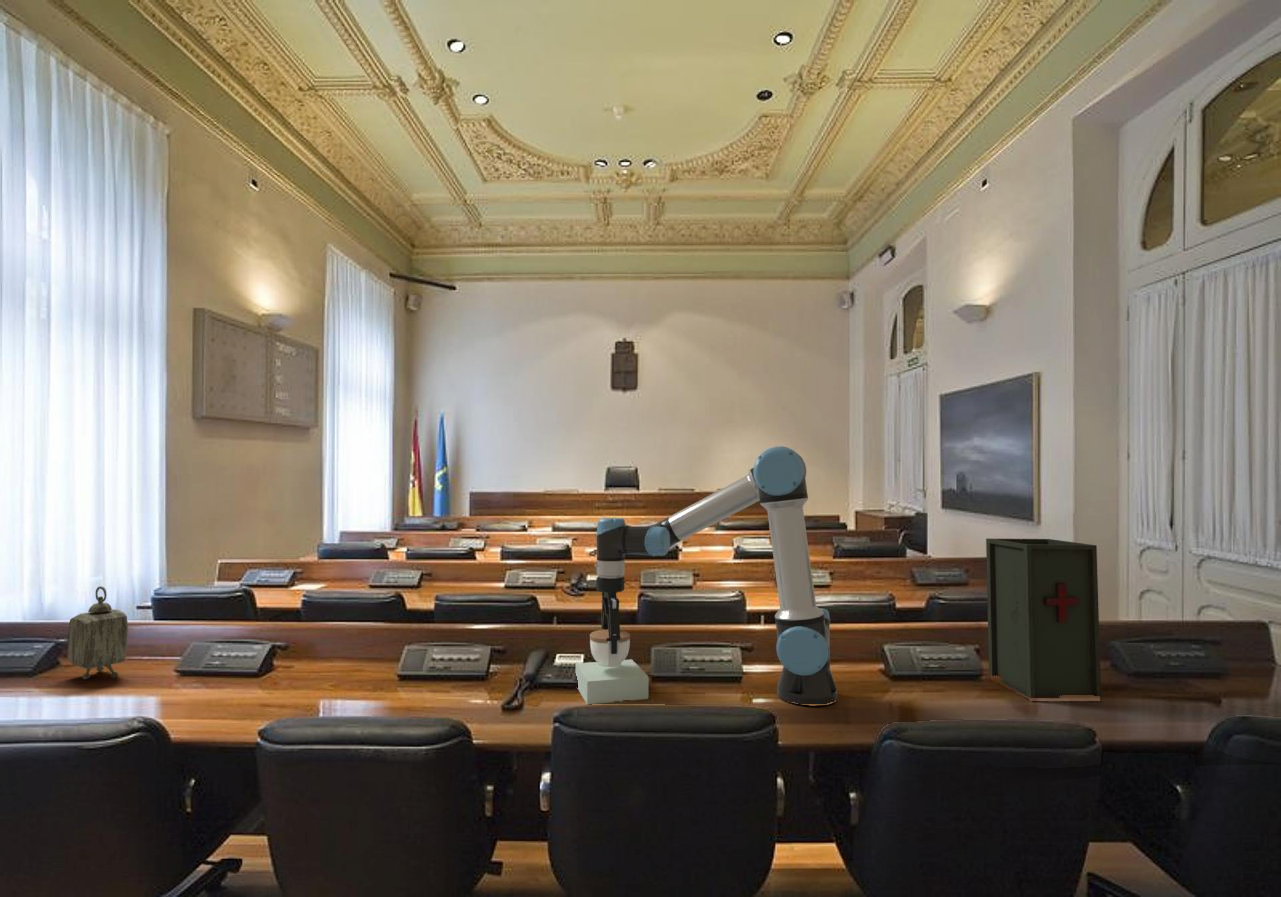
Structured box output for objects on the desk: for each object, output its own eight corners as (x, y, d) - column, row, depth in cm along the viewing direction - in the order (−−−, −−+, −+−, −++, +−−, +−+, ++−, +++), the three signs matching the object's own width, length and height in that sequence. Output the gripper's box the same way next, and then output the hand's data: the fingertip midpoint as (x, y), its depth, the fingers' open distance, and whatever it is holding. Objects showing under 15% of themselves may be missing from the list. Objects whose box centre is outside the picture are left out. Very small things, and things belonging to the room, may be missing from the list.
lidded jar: (624, 670, 160) (625, 633, 160) (584, 668, 162) (584, 631, 162) (633, 659, 170) (634, 624, 171) (595, 656, 172) (596, 622, 173)
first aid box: (1052, 679, 180) (1048, 538, 182) (1101, 701, 161) (1096, 545, 163) (988, 679, 179) (986, 538, 181) (1031, 701, 161) (1027, 545, 163)
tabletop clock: (125, 677, 174) (129, 587, 176) (83, 686, 167) (88, 591, 168) (105, 669, 182) (109, 582, 183) (64, 677, 174) (69, 586, 176)
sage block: (631, 681, 176) (631, 659, 177) (648, 700, 161) (648, 676, 161) (575, 685, 172) (575, 663, 172) (587, 706, 156) (587, 681, 157)
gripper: (591, 570, 178) (590, 649, 177) (602, 583, 155) (601, 673, 154) (617, 569, 179) (616, 647, 178) (632, 582, 157) (631, 672, 156)
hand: (609, 659), depth 166 cm, fingers closed on lidded jar, 11 cm apart
